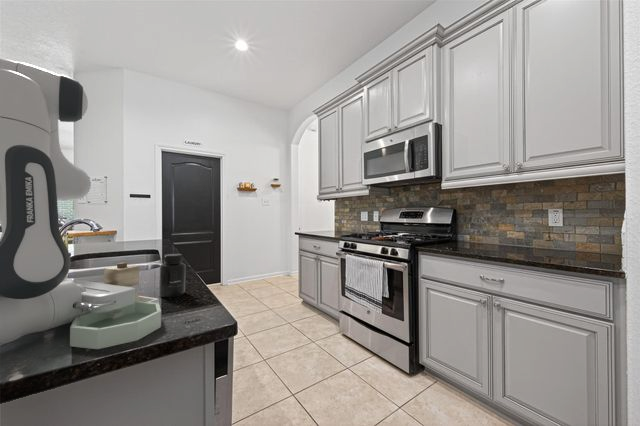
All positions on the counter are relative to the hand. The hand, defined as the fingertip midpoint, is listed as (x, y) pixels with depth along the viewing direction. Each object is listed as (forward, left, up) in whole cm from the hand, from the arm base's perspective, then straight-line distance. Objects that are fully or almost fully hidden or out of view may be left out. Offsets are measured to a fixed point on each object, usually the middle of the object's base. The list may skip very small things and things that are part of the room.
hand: (127, 285), depth 67 cm
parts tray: (+1, -1, -6) cm, 6 cm away
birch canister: (+1, -1, -6) cm, 6 cm away
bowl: (+14, -1, -6) cm, 15 cm away
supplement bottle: (-7, +11, -6) cm, 14 cm away
